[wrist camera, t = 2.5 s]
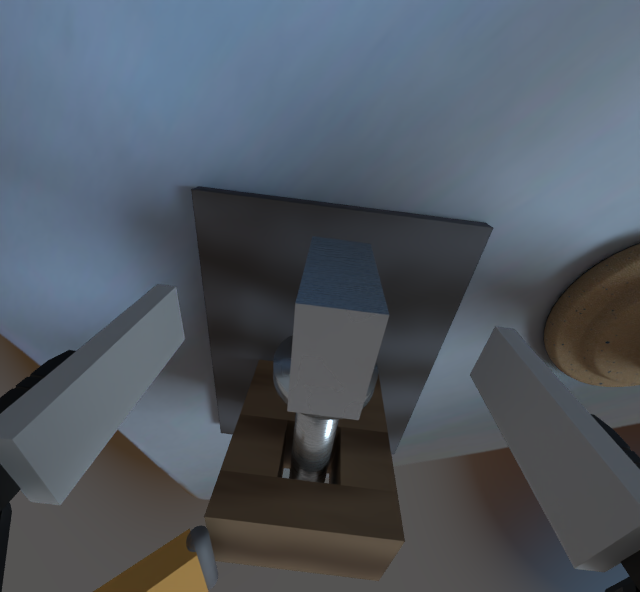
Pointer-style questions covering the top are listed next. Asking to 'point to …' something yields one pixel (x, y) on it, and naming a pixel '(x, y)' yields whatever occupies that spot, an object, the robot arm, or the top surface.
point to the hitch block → (271, 411)
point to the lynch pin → (330, 349)
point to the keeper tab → (172, 567)
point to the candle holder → (599, 324)
